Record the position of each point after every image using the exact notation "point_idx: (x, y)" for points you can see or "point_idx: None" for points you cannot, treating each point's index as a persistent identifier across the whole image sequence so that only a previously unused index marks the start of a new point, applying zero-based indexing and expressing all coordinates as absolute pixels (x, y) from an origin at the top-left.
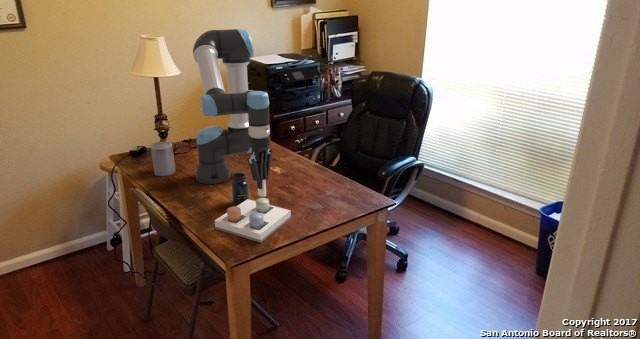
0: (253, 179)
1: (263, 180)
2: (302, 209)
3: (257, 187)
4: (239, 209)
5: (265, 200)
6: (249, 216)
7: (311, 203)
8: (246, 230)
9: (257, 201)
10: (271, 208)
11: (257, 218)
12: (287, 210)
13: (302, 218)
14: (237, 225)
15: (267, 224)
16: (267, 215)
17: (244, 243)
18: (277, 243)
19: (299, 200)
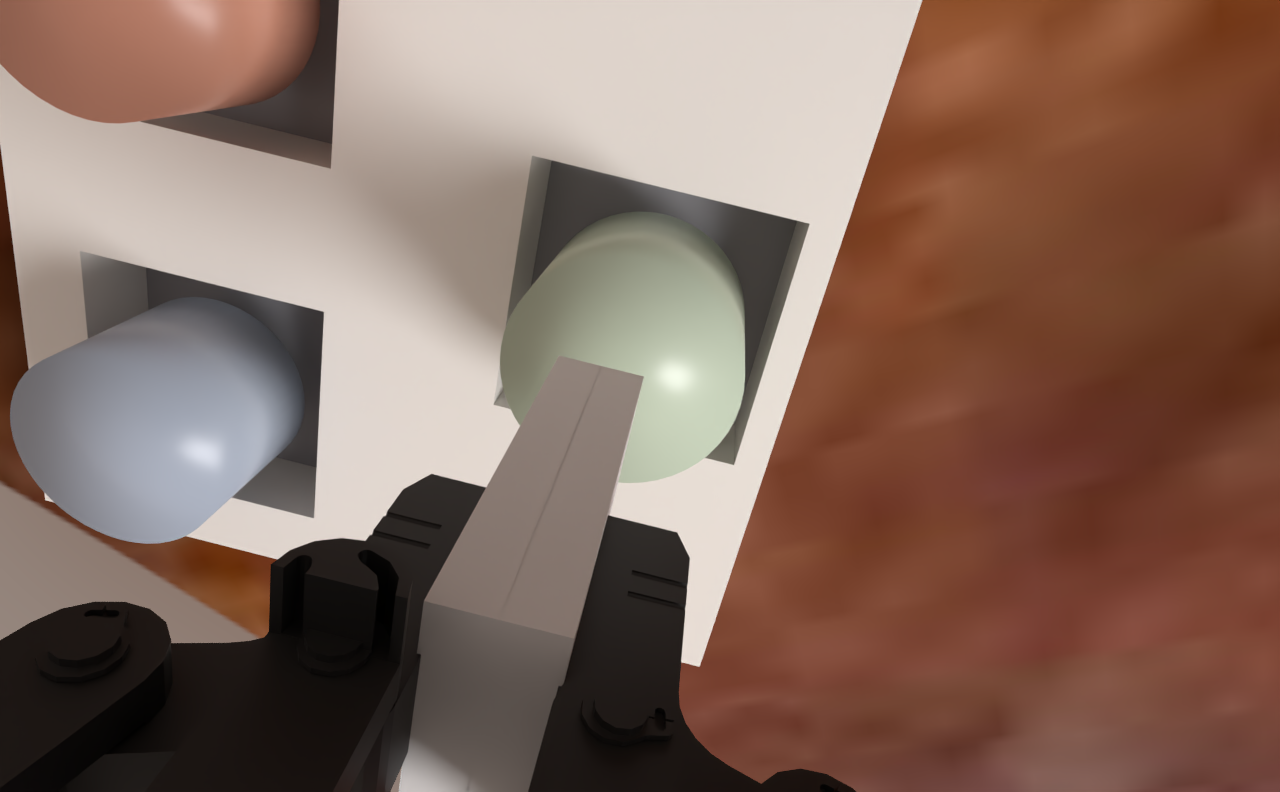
0: (26, 652)
1: (433, 787)
2: (956, 659)
3: (403, 495)
4: (145, 91)
5: (649, 422)
6: (44, 362)
7: (1136, 719)
8: (26, 316)
9: (568, 299)
10: (749, 404)
11: (65, 488)
12: (690, 634)
13: (738, 692)
14: (43, 148)
15: (266, 511)
16: (475, 445)
17: None
18: (199, 586)
19: (1226, 587)
